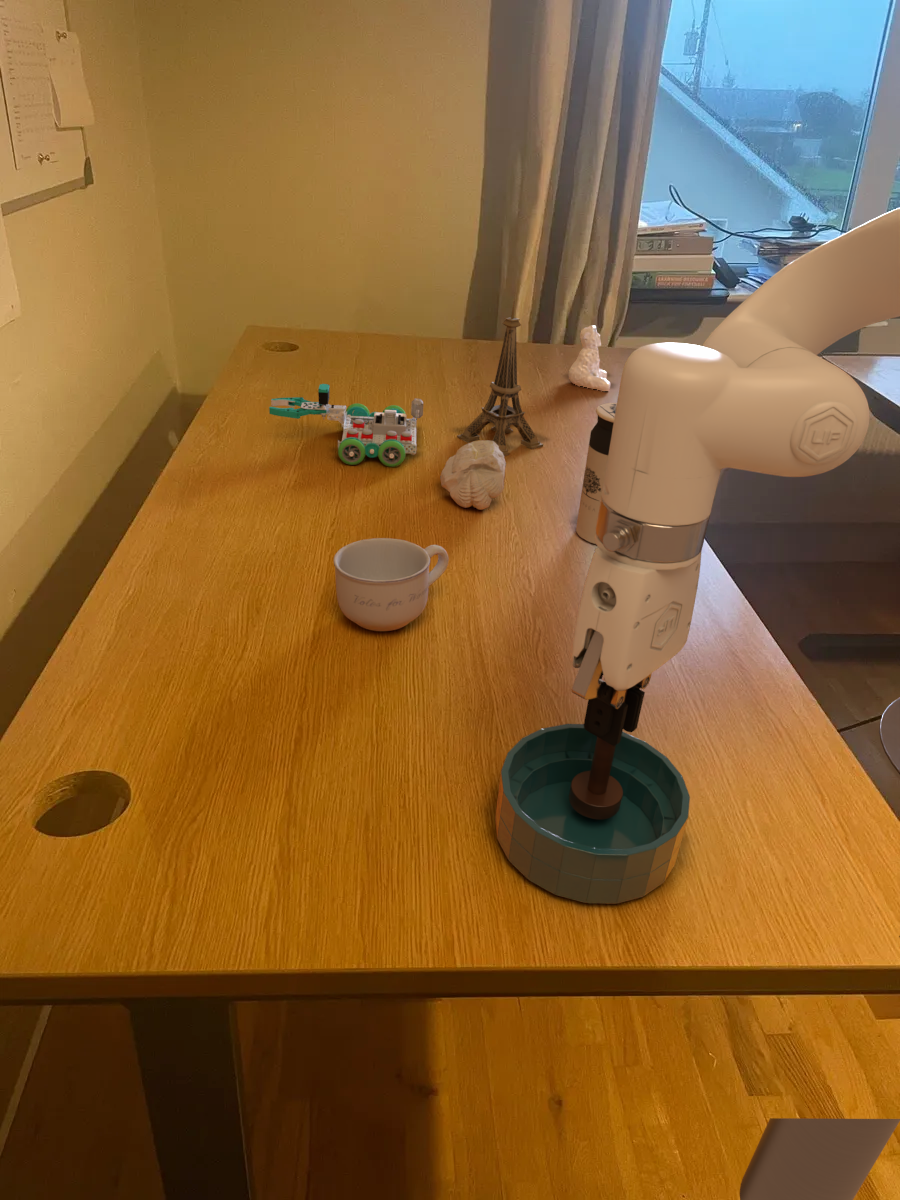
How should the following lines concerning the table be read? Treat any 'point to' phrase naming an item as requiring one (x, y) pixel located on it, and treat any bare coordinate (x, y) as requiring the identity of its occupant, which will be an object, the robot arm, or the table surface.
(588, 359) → the sitting furry creature
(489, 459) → the fossil replica
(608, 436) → the travel mug
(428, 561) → the teacup
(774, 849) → the table surface
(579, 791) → the stirring stick
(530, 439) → the eiffel tower
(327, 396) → the robot kit
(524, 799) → the bowl
